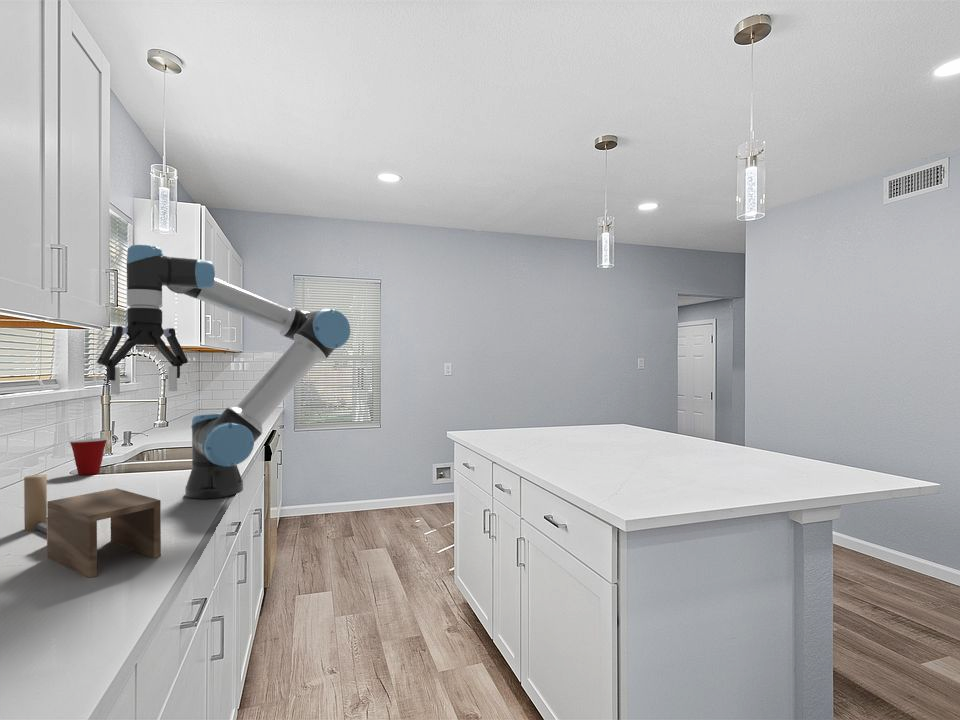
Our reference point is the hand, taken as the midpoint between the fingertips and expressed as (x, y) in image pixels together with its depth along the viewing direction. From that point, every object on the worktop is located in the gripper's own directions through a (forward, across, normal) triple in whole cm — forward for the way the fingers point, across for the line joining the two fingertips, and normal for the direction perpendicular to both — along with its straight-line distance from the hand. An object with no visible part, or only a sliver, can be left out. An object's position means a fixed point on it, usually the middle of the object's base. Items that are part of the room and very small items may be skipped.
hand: (145, 392), depth 135 cm
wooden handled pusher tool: (+31, +19, -1) cm, 36 cm away
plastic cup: (+31, -14, -66) cm, 74 cm away
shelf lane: (+31, +19, +23) cm, 43 cm away
